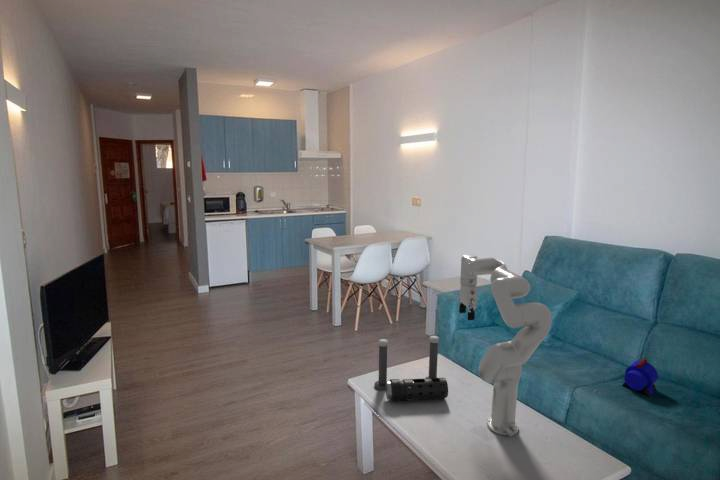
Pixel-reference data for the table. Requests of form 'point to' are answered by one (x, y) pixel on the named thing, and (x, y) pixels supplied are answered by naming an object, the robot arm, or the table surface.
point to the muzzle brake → (416, 389)
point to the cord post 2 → (433, 357)
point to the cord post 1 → (382, 365)
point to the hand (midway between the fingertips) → (466, 316)
